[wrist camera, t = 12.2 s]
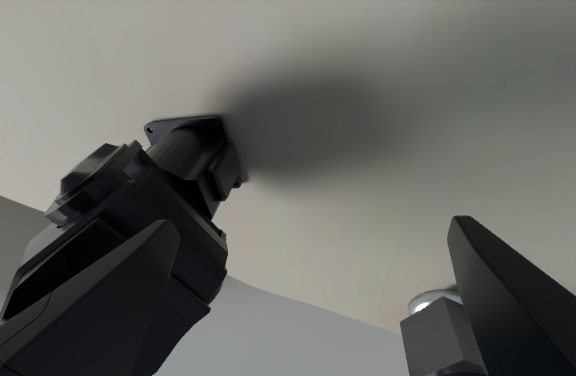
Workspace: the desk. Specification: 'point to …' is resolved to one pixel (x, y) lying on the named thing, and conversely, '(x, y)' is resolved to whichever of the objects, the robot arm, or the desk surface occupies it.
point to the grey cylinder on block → (441, 341)
